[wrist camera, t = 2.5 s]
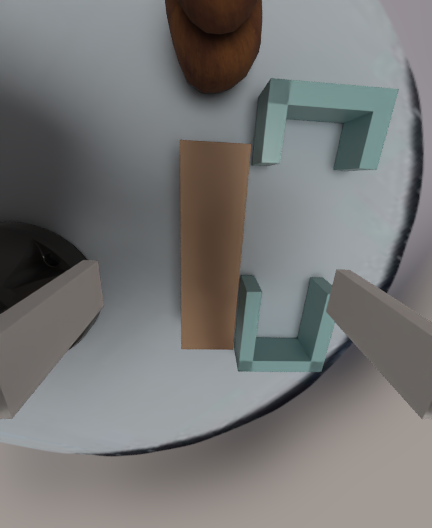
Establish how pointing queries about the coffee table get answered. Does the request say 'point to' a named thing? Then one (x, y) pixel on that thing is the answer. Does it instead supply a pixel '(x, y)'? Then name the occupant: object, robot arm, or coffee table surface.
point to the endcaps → (348, 159)
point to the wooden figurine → (215, 40)
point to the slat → (211, 239)
